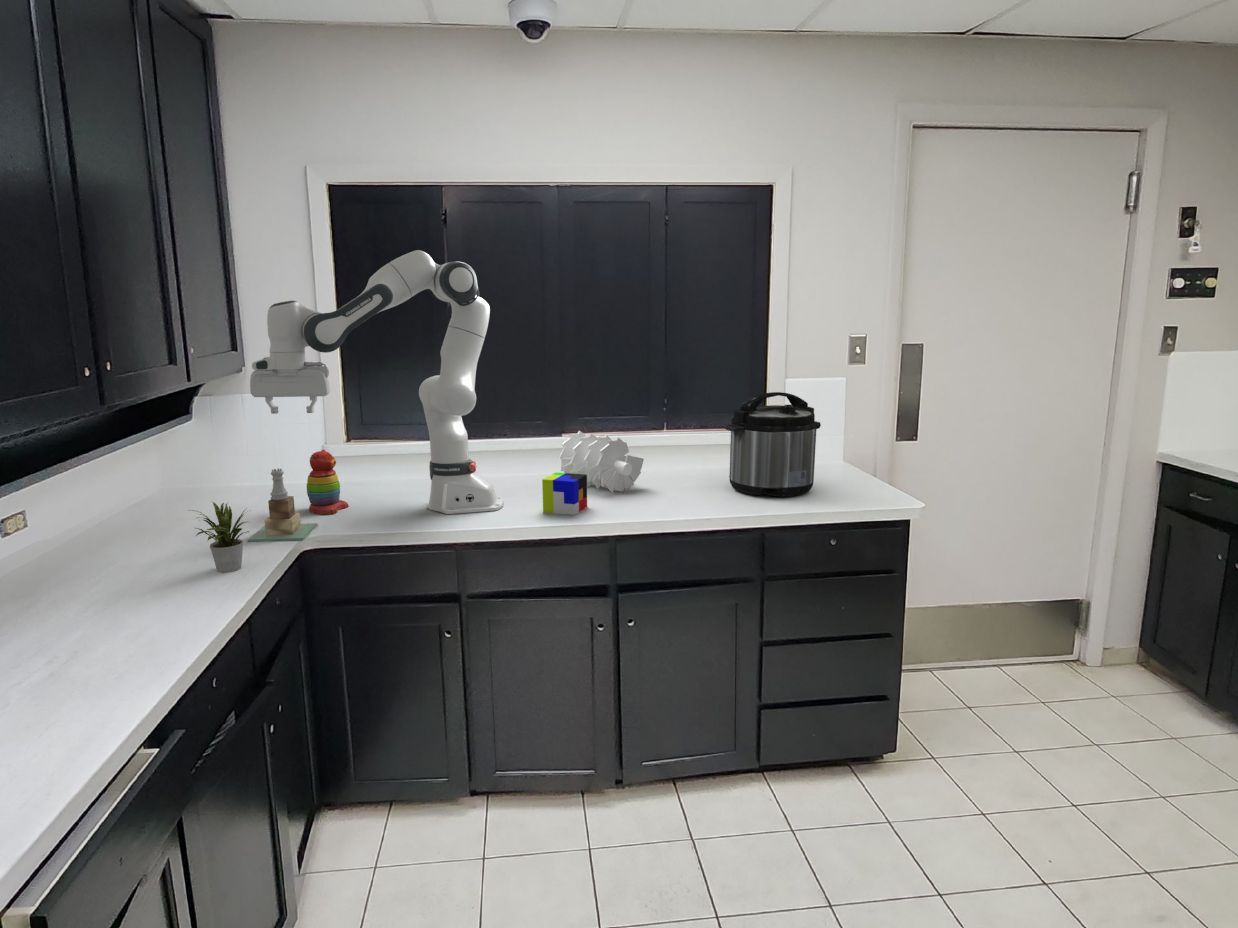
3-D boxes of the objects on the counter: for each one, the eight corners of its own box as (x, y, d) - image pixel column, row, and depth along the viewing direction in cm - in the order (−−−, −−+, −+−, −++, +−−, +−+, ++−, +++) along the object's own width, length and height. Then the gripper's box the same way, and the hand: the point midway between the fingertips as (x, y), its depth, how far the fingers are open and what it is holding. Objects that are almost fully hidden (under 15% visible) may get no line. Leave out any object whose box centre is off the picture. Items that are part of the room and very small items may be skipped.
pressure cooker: (816, 481, 278) (820, 388, 271) (820, 501, 250) (825, 398, 244) (727, 477, 283) (729, 386, 277) (722, 497, 256) (724, 396, 249)
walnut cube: (295, 513, 222) (293, 496, 221) (289, 518, 217) (287, 500, 216) (276, 514, 221) (274, 496, 220) (269, 519, 216) (268, 501, 215)
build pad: (317, 525, 227) (317, 523, 227) (303, 540, 214) (302, 537, 214) (265, 526, 226) (265, 524, 226) (247, 541, 212) (247, 539, 212)
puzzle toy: (574, 515, 237) (574, 481, 235) (543, 512, 240) (542, 479, 238) (587, 506, 246) (586, 474, 244) (556, 504, 249) (555, 472, 247)
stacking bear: (332, 515, 238) (327, 455, 234) (300, 513, 240) (295, 454, 236) (351, 505, 248) (346, 448, 244) (320, 504, 250) (316, 447, 246)
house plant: (181, 568, 192) (173, 501, 189) (241, 554, 202) (234, 490, 199) (206, 582, 182) (197, 512, 179) (267, 567, 192) (260, 500, 189)
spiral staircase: (616, 507, 260) (563, 491, 277) (651, 476, 269) (598, 462, 286) (600, 461, 250) (546, 446, 267) (636, 430, 260) (582, 418, 277)
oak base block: (300, 527, 223) (299, 512, 223) (293, 534, 217) (291, 519, 216) (274, 527, 223) (273, 513, 222) (265, 535, 216) (264, 520, 215)
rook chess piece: (273, 501, 215) (270, 472, 213) (268, 498, 218) (265, 469, 217) (290, 499, 217) (288, 469, 216) (285, 495, 221) (283, 467, 219)
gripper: (330, 360, 224) (334, 410, 227) (253, 361, 223) (258, 412, 226) (324, 362, 218) (328, 414, 221) (245, 363, 217) (250, 415, 219)
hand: (292, 413), depth 223 cm, fingers open, 8 cm apart
